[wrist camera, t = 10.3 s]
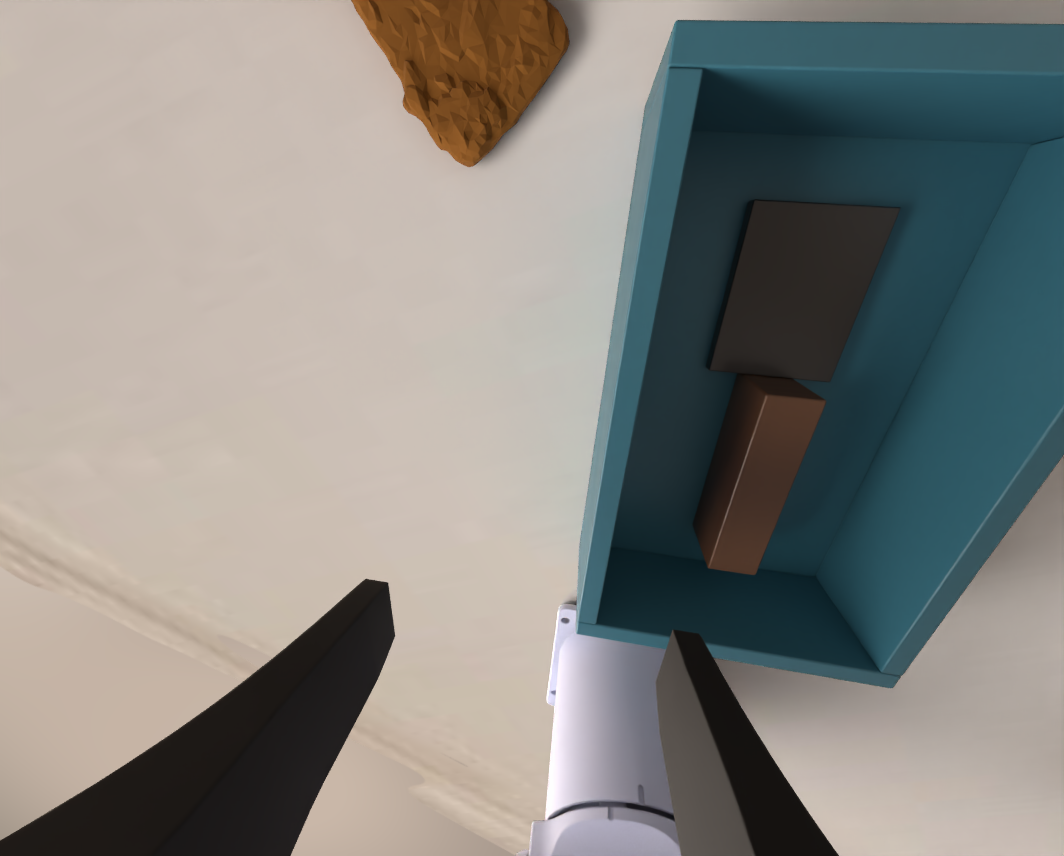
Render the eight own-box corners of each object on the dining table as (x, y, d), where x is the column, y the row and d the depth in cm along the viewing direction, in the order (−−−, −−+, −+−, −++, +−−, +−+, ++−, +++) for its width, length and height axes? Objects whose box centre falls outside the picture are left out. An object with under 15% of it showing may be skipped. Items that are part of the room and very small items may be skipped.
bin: (820, 582, 20) (893, 689, 15) (579, 547, 22) (575, 634, 17) (1057, 118, 12) (1379, 25, 7) (645, 104, 13) (675, 18, 8)
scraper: (760, 534, 19) (788, 581, 16) (664, 521, 20) (676, 564, 17) (889, 209, 13) (965, 198, 10) (747, 200, 14) (785, 188, 11)
